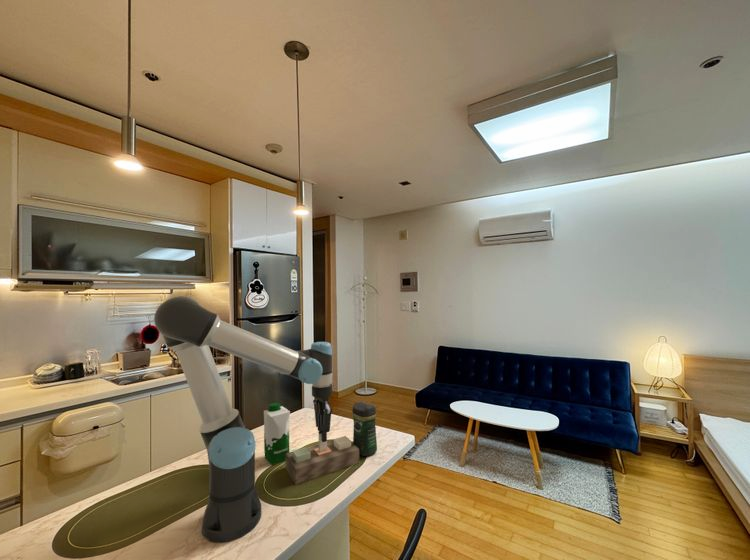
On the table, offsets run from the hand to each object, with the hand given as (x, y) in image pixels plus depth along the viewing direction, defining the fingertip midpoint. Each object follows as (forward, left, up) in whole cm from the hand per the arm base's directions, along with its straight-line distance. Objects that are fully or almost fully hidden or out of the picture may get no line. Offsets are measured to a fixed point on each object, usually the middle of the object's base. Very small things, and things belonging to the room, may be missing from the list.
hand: (322, 449), depth 116 cm
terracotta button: (0, 0, -4) cm, 4 cm away
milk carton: (-13, +14, -6) cm, 20 cm away
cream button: (+8, 0, -2) cm, 8 cm away
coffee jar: (+18, 0, -6) cm, 19 cm away
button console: (0, 0, -6) cm, 6 cm away
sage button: (-8, 0, -2) cm, 8 cm away
